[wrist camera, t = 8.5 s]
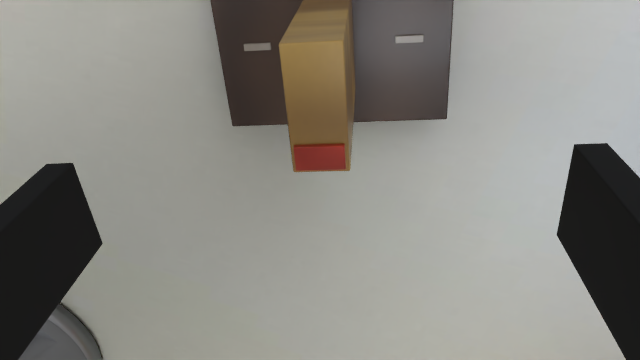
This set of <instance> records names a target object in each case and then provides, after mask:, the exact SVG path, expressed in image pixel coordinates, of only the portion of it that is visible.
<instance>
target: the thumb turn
mask: <svg viewBox="0 0 640 360" xmlns="http://www.w3.org/2000/svg"><path fill="white" fill-rule="evenodd" d="M279 52H280V60H281V69H282V78H283V86H284V95H285V103H286V112H287V120H288V129H289V137H290V146H291V154H292V163H293V171H294V172H316V171H349V170H350V166H351V150H352V135H353V119H354V103H355V64H354V40H353V16H352V0H303V1H302V3H301V5H300V7H299V9H298V10H297V12H296V14H295V16H294V18H293V19H292V21H291V23H290V25H289V27H288V28H287V30H286V32H285V34H284V36H283V37H282V39H281V41H280V43H279Z"/></svg>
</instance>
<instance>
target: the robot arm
mask: <svg viewBox="0 0 640 360" xmlns="http://www.w3.org/2000/svg"><path fill="white" fill-rule="evenodd" d="M557 236H558V238H559V240H560V241H561V243H562V245H563V247H564V249H565V250H566V252H567V254H568V256H569V258H570V259H571V261H572V263H573V265H574V267H575V268H576V270H577V272H578V274H579V276H580V277H581V279H582V281H583V283H584V285H585V286H586V288H587V290H588V292H589V294H590V295H591V297H592V299H593V301H594V303H595V304H596V306H597V308H598V310H599V312H600V313H601V315H602V317H603V319H604V321H605V322H606V324H607V326H608V328H609V330H610V331H611V333H612V335H613V337H614V339H615V340H616V342H617V344H618V346H619V348H620V349H621V351H622V353H623V355H624V357H625V358H626V360H640V178H639V177H638V176H637V175H636V173H635V172H634V171H633V170H632V169H631V168H630V167H629V166H628V165H627V164H626V163H625V162H624V161H623V160H622V159H621V158H620V157H619V156H618V154H617V153H616V152H615V151H614V150H613V149H612V148H611V147H610V146H609V145H608V144H607V143H602V144H575V145H574V149H573V154H572V159H571V164H570V169H569V174H568V180H567V185H566V190H565V195H564V200H563V205H562V211H561V216H560V221H559V226H558V231H557ZM102 244H103V243H102V241H101V238H100V235H99V232H98V230H97V227H96V224H95V222H94V219H93V216H92V213H91V211H90V208H89V205H88V203H87V200H86V197H85V195H84V192H83V189H82V186H81V184H80V181H79V178H78V176H77V173H76V170H75V167H74V165H73V163H61V164H46V165H45V166H44V167H43V168H42V169H40V170H39V171H38V172H37V173H36V174H35V175H34V176H33V177H31V178H30V179H29V180H28V181H27V182H26V183H25V184H23V185H22V186H21V187H20V188H19V189H18V190H17V191H15V192H14V193H13V194H12V195H11V196H10V197H9V198H8V199H6V200H5V201H4V202H3V203H2V204H1V205H0V360H102V359H101V354H100V351H99V348H98V346H97V344H96V342H95V340H94V338H93V337H92V335H91V334H90V332H89V331H88V330H87V328H86V327H85V326H84V325H83V324H82V323H81V322H80V321H79V320H78V319H77V318H76V317H75V316H74V315H73V314H71V313H70V312H69V311H68V310H66V309H65V308H64V307H62V306H61V305H60V304H59V303H60V301H61V300H62V299H63V297H64V296H65V295H66V293H67V292H68V290H69V289H70V288H71V286H72V285H73V284H74V282H75V281H76V279H77V278H78V277H79V275H80V274H81V273H82V271H83V270H84V268H85V267H86V266H87V264H88V263H89V262H90V260H91V259H92V257H93V256H94V255H95V253H96V252H97V251H98V249H99V248H100V246H101V245H102Z"/></svg>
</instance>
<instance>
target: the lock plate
mask: <svg viewBox="0 0 640 360" xmlns="http://www.w3.org/2000/svg"><path fill="white" fill-rule="evenodd" d="M302 1H303V0H211V6H212V12H213V17H214V23H215V29H216V35H217V40H218V46H219V52H220V57H221V63H222V69H223V74H224V80H225V86H226V91H227V97H228V103H229V108H230V114H231V120H232V125H233V126H252V125H282V124H288V120H287V112H286V103H285V95H284V86H283V78H282V69H281V60H280V52H279V43H280V41H281V39H282V37H283V36H284V34H285V32H286V30H287V28H288V27H289V25H290V23H291V21H292V19H293V18H294V16H295V14H296V12H297V10H298V9H299V7H300V5H301V3H302ZM453 1H454V0H352V16H353V40H354V64H355V103H354V119H353V122H371V121H401V120H431V119H446V118H447V104H448V87H449V70H450V53H451V36H452V19H453Z"/></svg>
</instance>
